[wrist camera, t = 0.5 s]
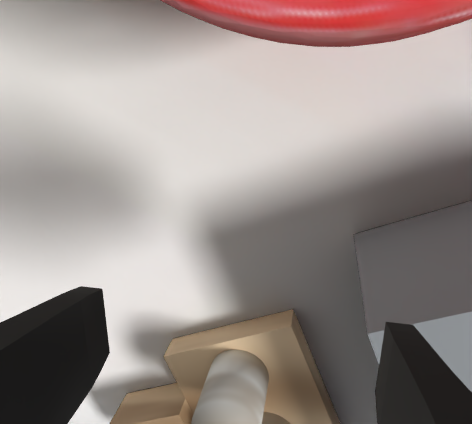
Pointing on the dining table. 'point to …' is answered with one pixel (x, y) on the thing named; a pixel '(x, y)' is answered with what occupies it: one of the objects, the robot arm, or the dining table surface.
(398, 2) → the plant pot
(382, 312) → the grey slotted box
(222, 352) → the tan t-shaped block
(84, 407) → the dining table surface
